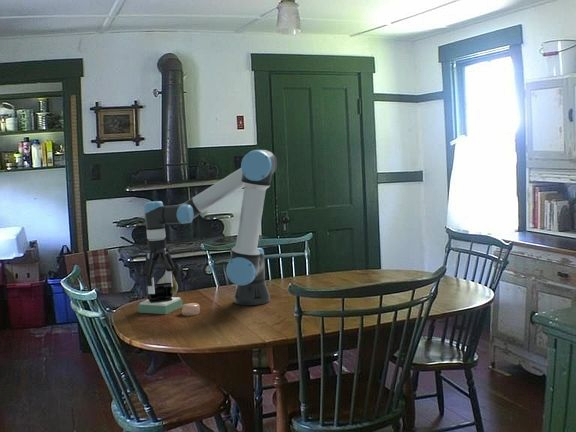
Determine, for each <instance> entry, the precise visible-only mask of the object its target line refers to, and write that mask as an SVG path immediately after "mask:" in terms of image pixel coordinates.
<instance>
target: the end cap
mask: <svg viewBox="0 0 576 432" xmlns="http://www.w3.org/2000/svg"><path fill="white" fill-rule="evenodd" d="M145 288H146V289H145V290H146V298H147V300H149V301H150V303H155V302H164V301H172V298H171V297H172V295H173V294H172V286H171V283H160V284H157V283H154V288H155V294H148V286H147V285H145Z"/></svg>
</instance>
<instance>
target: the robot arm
mask: <svg viewBox="0 0 576 432" xmlns="http://www.w3.org/2000/svg"><path fill="white" fill-rule="evenodd" d="M277 167H278V161H277V157H276V156H275V155H274V153H273V152H271V151H270V150H268V149H254V150H251V151H249V152H248V153H246V154H245V155H244V156H243V158H242V159H241V163H240V168H238V169H236V170H235V171H233V172H231V173H230V174H228V175H227V176H226V177H224V178H222V179H220V180H219V181H217V182H216V183H214V184H212V185H211V186H209V187H207V188H206V189H204V190H203V191H201V192H199V193H198V194H196V195H195V196H192V198H190V199H188V200H187V201H184V202H183V203H179V204H175V205H164V203H163V201H161V200H158V201H157V200H155V201H147V202H145V204H144V218H145V229H146V239H147V241H146V242H147V249H148V250H149V251H150V252H149V253H148V252H147V253H145V263H144V267H143V268H144V269H143V272H142V277H143V278H144V279H146V286H148V294H155V288H154V284H155V278H154V277H153V276H154V273H155V271H156V267H157V265H158V264H159V263H161V265H162V266H163V268H164V269H165V271H164V275H165V276H166V283H171V286H172V287H173V283H172V274H173V272H174V271H175V267H176V266H175V264H174V261H173V259H172V256H171V253H170V249H169V248H168V247H167V240H166V237H167V235H166V234H167V233H166V225H174V224H175V225H178V224H179V225H181V224H182V225H185V224H190V223H192V222H193V220H194V219H196V217H198V216H199V215H201V214H203V213H204V212H206V211H207V210H208V209H209V210H210V208H212V207H214V206H215V205H217V204H218V203H220V202H222V201H223V200H225V199H227V198H228V197H230V196H232V195H233V194H235V193H237V192H238V191H240V190H242V189H243V193H242V194H243V195H242V199H241V200H242V202H241V208H240V216H239V221H238V222H239V224H238V228H237V234H236V235H237V236H236V243H235V245H234V246H233V247H232V248H231V252H230V259H229V262H228V263H227V265H226V269H225V272H226V277H227V279H228V280H229V281H230V282H231V283H233V284H234V285H237V287H236V290H235V294H234V298H233V300H234V304H236V305H239V306H258V305H265V304H267V303H270V301H271V295H270V291H269V289H268V286H267V284H266V270H265V269H266V268H265V267H266V266H265V251H264V248H262V247H258V244H259V238H260V232H261V225H262V217H263V211H264V204H265V199H266V198H265V197H266V193H267V192H266V191H267V189H269V188H270V187H271V183H272V179H273V177H272V176H273V174H274V173H276V171H277ZM172 271H173V272H172Z"/></svg>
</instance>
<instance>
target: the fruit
mask: <svg viewBox="0 0 576 432" xmlns="http://www.w3.org/2000/svg"><path fill="white" fill-rule="evenodd" d="M173 272H174V271H172V283H173V287H172V294H173V295H172V297H176V294H177V292H178V291H179V286H178V285H179V284H178V282H177V280H176V278H175V276H174V273H173ZM160 283H166V276H165V274H163V276H162V277H161V278H160V279H158V281H157V283H156V284H160Z"/></svg>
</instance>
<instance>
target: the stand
mask: <svg viewBox="0 0 576 432" xmlns="http://www.w3.org/2000/svg"><path fill="white" fill-rule="evenodd" d="M171 298H172V301H164V302H155V303H150V301H149V300H148V299H146V300H143V301H141V302H139V304H138V305H137V308H138V311H137V312H138V313H141V314H156V315H157V314H158V315H167V314H170V313H171V312H174V311H176V310H179V309H182V305H184V304H183V299H182V298H181V297H179V296H177V297H176V296H173V297H171Z"/></svg>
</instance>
